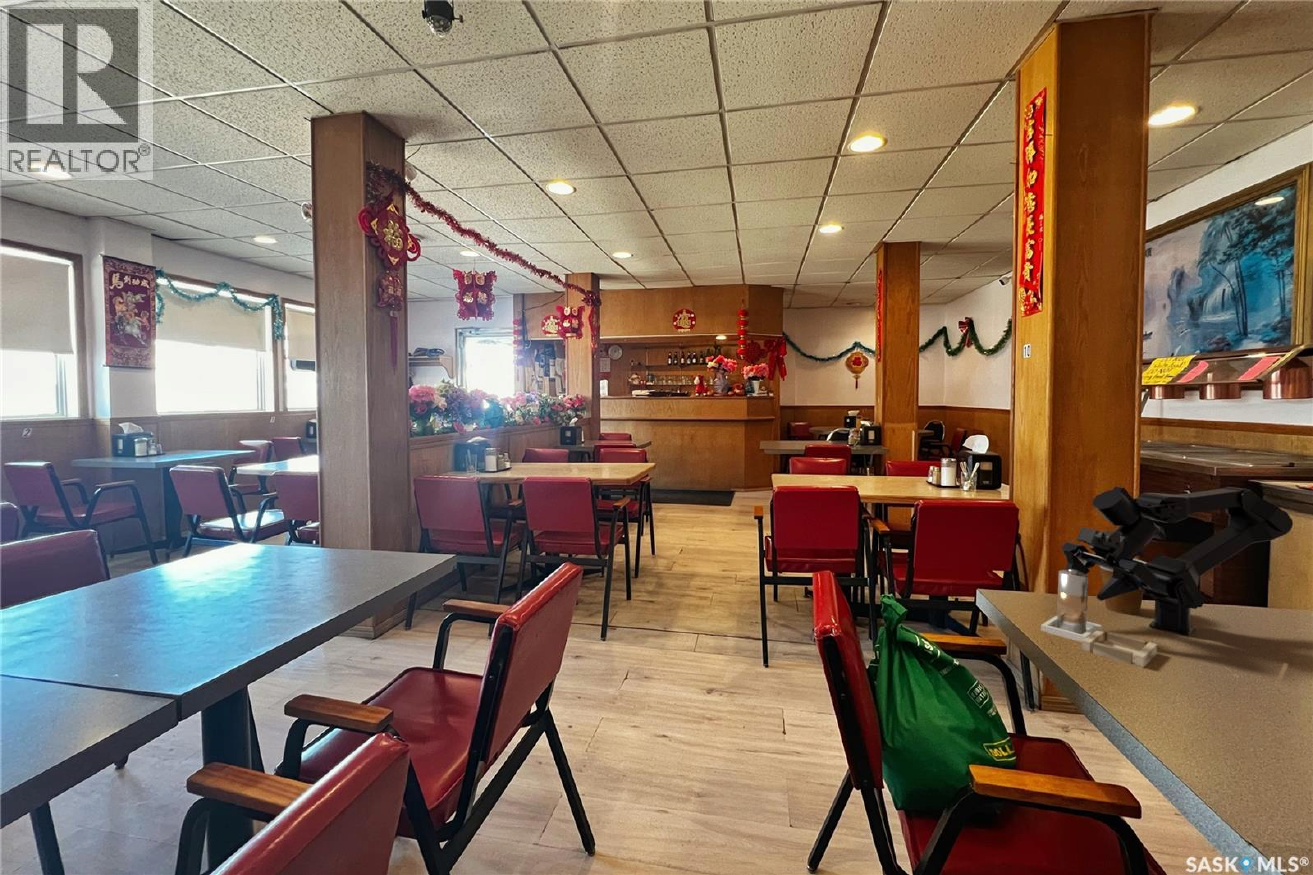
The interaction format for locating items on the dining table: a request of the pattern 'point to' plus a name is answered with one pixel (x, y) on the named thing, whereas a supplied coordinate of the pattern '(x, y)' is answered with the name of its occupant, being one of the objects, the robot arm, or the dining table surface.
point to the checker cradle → (1120, 648)
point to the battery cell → (1072, 601)
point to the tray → (1052, 629)
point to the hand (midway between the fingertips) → (1080, 592)
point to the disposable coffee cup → (1122, 596)
